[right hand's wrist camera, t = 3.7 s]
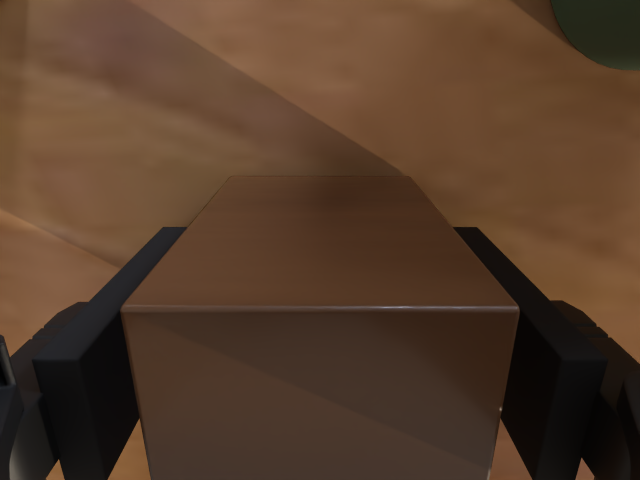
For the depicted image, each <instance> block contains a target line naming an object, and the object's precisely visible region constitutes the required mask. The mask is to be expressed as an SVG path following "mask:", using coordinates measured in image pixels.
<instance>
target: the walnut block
mask: <svg viewBox="0 0 640 480" xmlns="http://www.w3.org/2000/svg"><path fill="white" fill-rule="evenodd" d="M120 313H121V319H122V324H123V330H124V335H125V340H126V346H127V351H128V357H129V362H130V368H131V373H132V378H133V384H134V389H135V395H136V400H137V406H138V411H139V417H140V422H141V427H142V433H143V438H144V444H145V449H146V455H147V460H148V466H149V471H150V476H151V480H489V477H490V472H491V466H492V461H493V455H494V450H495V444H496V439H497V434H498V428H499V423H500V417H501V412H502V406H503V401H504V395H505V390H506V385H507V379H508V374H509V368H510V363H511V357H512V352H513V347H514V341H515V336H516V330H517V325H518V319H519V314H520V309H519V306H518V305H517V304H516V302H515V301H514V300H513V299H512V298H511V296H510V295H509V294H508V293H507V292H506V290H505V289H504V288H503V287H502V286H501V285H500V283H499V282H498V281H497V280H496V279H495V277H494V276H493V275H492V274H491V273H490V271H489V270H488V269H487V268H486V267H485V265H484V264H483V263H482V262H481V261H480V260H479V258H478V257H477V256H476V255H475V254H474V252H473V251H472V250H471V249H470V248H469V246H468V245H467V244H466V243H465V242H464V240H463V239H462V238H461V237H460V236H459V235H458V233H457V232H456V231H455V230H454V229H453V227H452V226H451V225H450V224H449V223H448V221H447V220H446V219H445V218H444V217H443V215H442V214H441V213H440V212H439V211H438V210H437V208H436V207H435V206H434V205H433V204H432V202H431V201H430V200H429V199H428V198H427V196H426V195H425V194H424V193H423V192H422V190H421V189H420V188H419V187H418V186H417V185H416V183H415V182H414V181H413V180H412V179H411V177H409V176H231V177H230V178H229V179H228V180H227V181H226V182H225V183H224V185H223V186H222V187H221V188H220V189H219V191H218V192H217V193H216V194H215V195H214V197H213V198H212V199H211V200H210V201H209V203H208V204H207V205H206V206H205V207H204V208H203V210H202V211H201V212H200V213H199V214H198V216H197V217H196V218H195V219H194V220H193V222H192V223H191V224H190V225H189V226H188V228H187V229H186V230H185V231H184V232H183V233H182V235H181V236H180V237H179V238H178V239H177V241H176V242H175V243H174V244H173V245H172V247H171V248H170V249H169V250H168V251H167V253H166V254H165V255H164V256H163V257H162V258H161V260H160V261H159V262H158V263H157V264H156V266H155V267H154V268H153V269H152V270H151V272H150V273H149V274H148V275H147V276H146V278H145V279H144V280H143V281H142V282H141V283H140V285H139V286H138V287H137V288H136V289H135V291H134V292H133V293H132V294H131V295H130V297H129V298H128V299H127V300H126V301H125V303H124V304H123V305H122V306H121V310H120Z"/></svg>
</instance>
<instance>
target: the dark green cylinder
mask: <svg viewBox="0 0 640 480" xmlns="http://www.w3.org/2000/svg"><path fill="white" fill-rule="evenodd" d="M551 3H552V7H553V10H554V13H555V16H556V19H557V21H558V23H559V25H560V27H561V29H562V31H563V32H564V34H565V35H566V37H567V38H568V40H569V41H570V42H571V43H572V44H573V45H574V46H575V48H576V49H577V50H579V51H580V52H581V53H582V54H584V55H585V56H586V57H588V58H589V59H591V60H593V61H595V62H597V63H599V64H602V65H604V66H607V67H610V68H615V69H621V70H640V0H551Z"/></svg>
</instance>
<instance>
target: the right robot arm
mask: <svg viewBox="0 0 640 480" xmlns="http://www.w3.org/2000/svg"><path fill="white" fill-rule="evenodd" d="M187 228H188V227H163V228H162V229H161V230H160V231H159V232H158V233H157V234H156V235H155V236H154V237H153V238H152V239H151V240H150V241H149V242H148V243H147V244H146V245H145V246H144V247H143V248H142V249H141V250H140V251H139V252H138V253H137V254H136V255H135V256H134V257H133V258H132V259H131V260H130V261H129V262H128V263H127V264H126V265H125V266H124V267H123V268H122V269H121V270H120V271H119V272H118V273H117V274H116V275H115V276H114V277H113V278H112V279H111V280H110V281H109V282H108V283H107V284H106V285H105V286H104V287H103V288H102V289H101V290H100V291H99V292H98V293H97V294H96V295H95V296H94V297H93V298H92V299H91V300H90V301H89V302H77V303H76V304H74V305H72V306H70V307H68V308H66V309H64V310H63V311H61V312H59V313H57V314H56V315H55V316H54V317H53V318H52V319H51V320H50V321H49V322H48V323H47V324H45V325H44V328H41V329H40V330H39V331H38V332H37V333H36V334H35V335H34V336H33V338H32V339H29V340H28V341H27V342H26V343H25V344H24V345H23V346H22V347H21V348H20V349H19V350H17V351H16V352H15V353H14V354H13V355H12V356H11V357H9V353H8V350H7V346H6V343H5V340H4V337H3V336H2V335H0V480H46V477H47V476H48V474H49V473H50V471H51V470H52V468H53V467H54V465H55V464H56V462H57V461H58V459H59V461H60V464H61V468H62V471H63V475H64V479H65V480H107V479H108V478H109V476H110V474H111V472H112V470H113V468H114V466H115V464H116V462H117V460H118V458H119V456H120V454H121V452H122V451H123V449H124V447H125V445H126V443H127V441H128V439H129V437H130V435H131V433H132V431H133V429H134V427H135V425H136V424H137V422H138V420H139V418H140V417H139V411H138V406H137V400H136V395H135V389H134V384H133V378H132V373H131V368H130V362H129V357H128V351H127V346H126V340H125V335H124V330H123V324H122V319H121V313H120V310H121V306H122V305H123V304H124V303H125V301H126V300H127V299H128V298H129V297H130V295H131V294H132V293H133V292H134V291H135V289H136V288H137V287H138V286H139V285H140V283H141V282H142V281H143V280H144V279H145V278H146V276H147V275H148V274H149V273H150V272H151V270H152V269H153V268H154V267H155V266H156V264H157V263H158V262H159V261H160V260H161V258H162V257H163V256H164V255H165V254H166V253H167V251H168V250H169V249H170V248H171V247H172V245H173V244H174V243H175V242H176V241H177V239H178V238H179V237H180V236H181V235H182V233H183V232H184V231H185V230H186V229H187ZM453 229H454V230H455V231H456V232H457V233H458V235H459V236H460V237H461V238H462V239H463V240H464V242H465V243H466V244H467V245H468V246H469V248H470V249H471V250H472V251H473V252H474V254H475V255H476V256H477V257H478V258H479V260H480V261H481V262H482V263H483V264H484V265H485V267H486V268H487V269H488V270H489V271H490V273H491V274H492V275H493V276H494V277H495V279H496V280H497V281H498V282H499V283H500V285H501V286H502V287H503V288H504V289H505V290H506V292H507V293H508V294H509V295H510V296H511V298H512V299H513V300H514V301H515V302H516V304H517V305H518V306H519V309H520V314H519V319H518V325H517V330H516V336H515V341H514V347H513V352H512V357H511V363H510V368H509V374H508V379H507V385H506V390H505V395H504V401H503V406H502V412H501V417H500V418H501V420H502V422H503V424H504V425H505V427H506V429H507V431H508V433H509V435H510V437H511V439H512V441H513V443H514V445H515V447H516V449H517V451H518V452H519V454H520V456H521V458H522V460H523V462H524V464H525V466H526V468H527V470H528V472H529V474H530V476H531V478H532V479H533V480H575V479H576V475H577V471H578V468H579V464H580V461H581V457H582V458H583V460H584V461H585V463H586V464H587V466H588V467H589V469H590V470H591V472H592V473H593V475H594V476H595V477H594V480H640V364H639V363H638V362H637V361H636V360H635V359H634V358H633V357H631V356H630V355H629V354H628V353H627V352H626V351H625V350H624V349H623V348H622V347H621V346H620V345H618V344H617V343H616V342H615V341H614V340H613V339H612V338H608V334H606V333H605V332H604V331H603V330H602V329H601V328H600V327H597V326H596V323H595V322H593V321H592V320H591V319H590V318H589V317H588V316H587V315H586V314H585V313H584V312H583V311H581V310H579V309H577V308H575V307H573V306H571V305H570V304H568V303H566V302H564V301H550V300H549V299H548V298H547V297H546V296H545V295H544V294H543V293H542V292H541V291H540V290H539V289H538V288H537V287H536V286H535V285H534V284H533V283H532V282H531V281H530V280H529V279H528V278H527V277H526V276H525V275H524V274H523V273H522V272H521V271H520V270H519V269H518V268H517V267H516V266H515V265H514V264H513V263H512V262H511V261H510V260H509V259H508V258H507V257H506V256H505V255H504V254H503V253H502V252H501V251H500V250H499V249H498V248H497V247H496V246H495V245H494V244H493V243H492V242H491V241H490V240H489V239H488V238H487V237H486V236H485V235H484V234H483V233H482V232H481V231H480V230H479V229H478V228H477V227H453Z"/></svg>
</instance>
